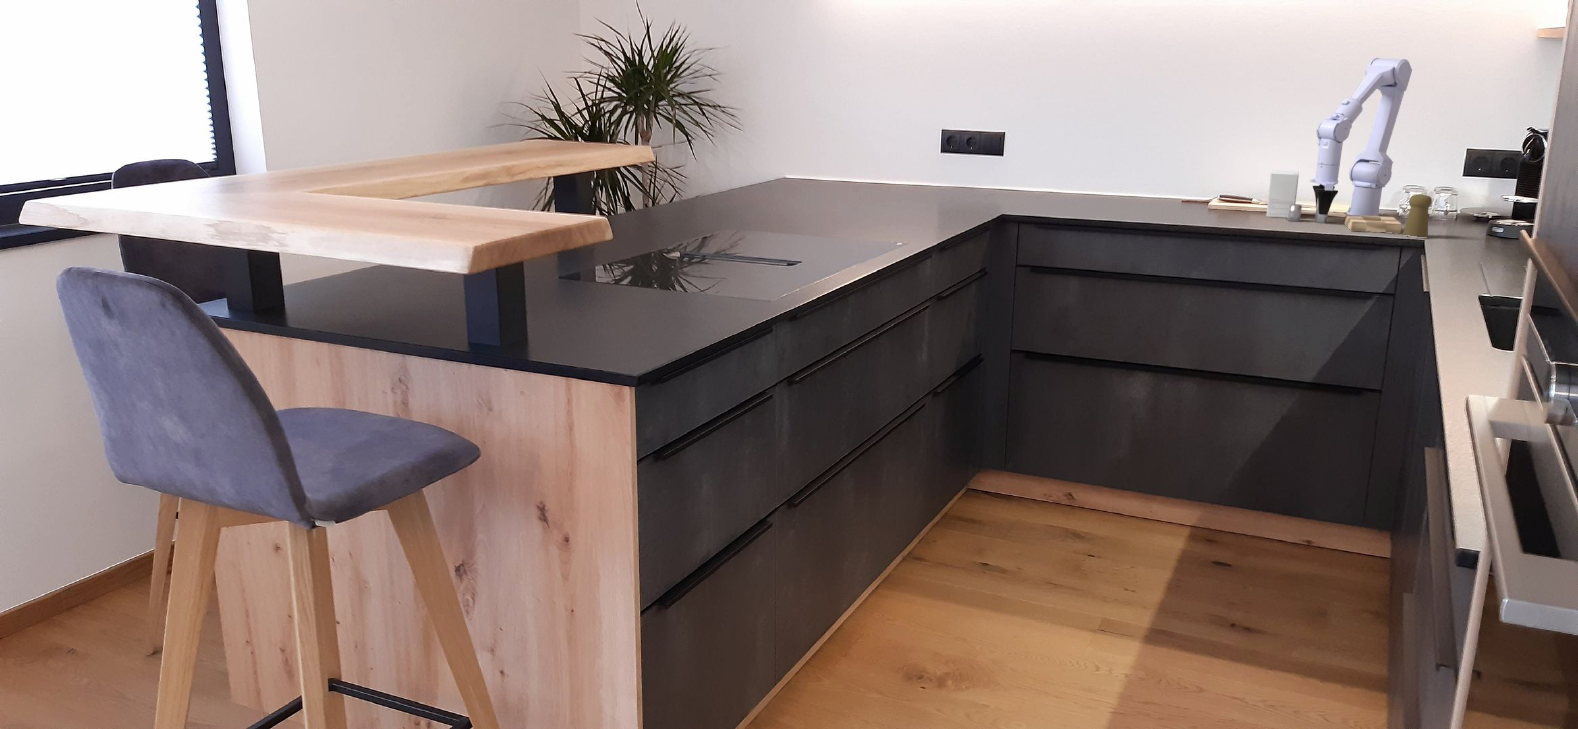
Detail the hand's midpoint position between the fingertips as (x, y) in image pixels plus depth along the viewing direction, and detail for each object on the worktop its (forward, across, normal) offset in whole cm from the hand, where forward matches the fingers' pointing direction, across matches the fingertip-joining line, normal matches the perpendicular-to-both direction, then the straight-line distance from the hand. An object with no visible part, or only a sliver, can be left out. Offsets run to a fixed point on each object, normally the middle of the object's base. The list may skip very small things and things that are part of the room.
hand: (1321, 212), depth 328 cm
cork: (+3, +16, +21) cm, 27 cm away
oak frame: (+3, +7, +12) cm, 14 cm away
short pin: (+3, 0, -7) cm, 7 cm away
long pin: (+3, 0, 0) cm, 3 cm away
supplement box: (+3, -8, -10) cm, 13 cm away
